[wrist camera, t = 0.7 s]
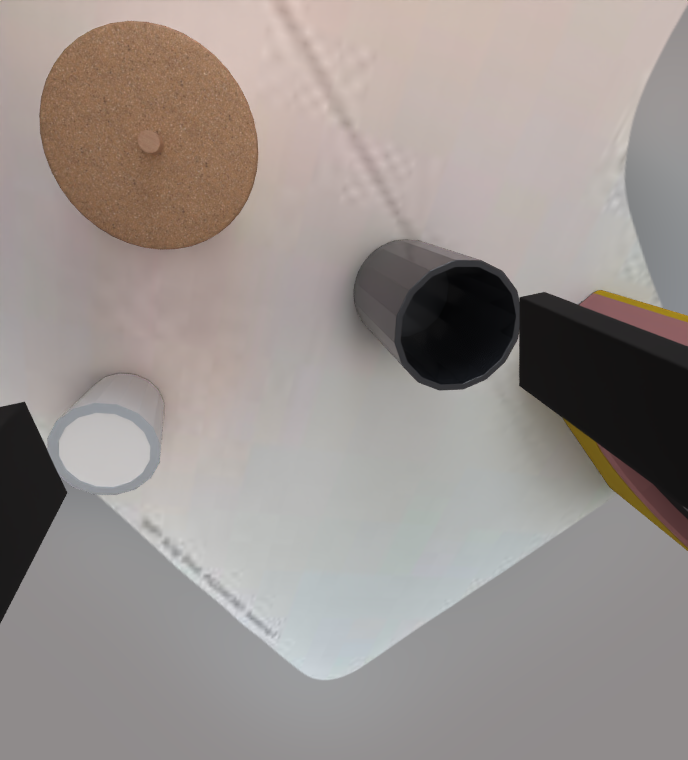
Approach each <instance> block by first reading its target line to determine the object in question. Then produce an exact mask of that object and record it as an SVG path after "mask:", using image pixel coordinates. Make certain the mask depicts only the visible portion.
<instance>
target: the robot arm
mask: <svg viewBox="0 0 688 760" xmlns="http://www.w3.org/2000/svg"><path fill="white" fill-rule="evenodd" d="M519 386H520V387H522V388H523V389H524V390H526V391H527V392H529V393H530V394H531V395H533V396H534V397H535V398H537V399H538V400H539V401H541V402H542V403H543V404H545V405H546V406H548V407H549V408H550V409H552V410H553V411H554V412H556V413H557V414H558V415H560V416H561V417H563V418H564V419H565V420H567V421H568V422H569V423H571V424H572V425H573V426H575V427H576V428H577V429H579V430H580V431H582V432H583V433H584V434H586V435H587V436H588V437H590V438H591V439H592V440H594V441H595V442H596V443H598V444H599V445H601V446H602V447H603V448H605V449H606V450H607V451H609V452H610V453H611V454H613V455H614V456H615V457H617V458H618V459H620V460H621V461H622V462H624V463H625V464H626V465H628V466H629V467H630V468H632V469H633V470H634V471H636V472H637V473H639V474H640V475H641V476H643V477H644V478H645V479H647V480H648V481H649V482H651V483H652V484H653V485H655V486H656V487H658V488H659V489H660V490H662V491H663V492H664V493H666V494H667V495H668V496H670V497H671V498H672V499H674V500H675V501H677V502H678V503H679V504H681V505H682V506H683V507H685V508H686V509H687V510H688V346H686V345H683V344H680V343H678V342H675V341H672V340H670V339H667V338H665V337H662V336H659V335H657V334H654V333H651V332H649V331H646V330H643V329H641V328H638V327H635V326H633V325H630V324H628V323H625V322H622V321H620V320H617V319H614V318H612V317H609V316H606V315H604V314H601V313H598V312H596V311H593V310H591V309H588V308H585V307H583V306H580V305H577V304H575V303H572V302H569V301H567V300H564V299H562V298H559V297H556V296H554V295H551V294H548V293H546V292H543V293H538V294H533V295H528V296H524V297H520V330H519ZM66 494H67V491H66V489H65V487H64V485H63V483H62V481H61V478H60V476H59V474H58V472H57V470H56V468H55V466H54V463H53V461H52V459H51V457H50V455H49V453H48V451H47V448H46V446H45V444H44V442H43V440H42V438H41V436H40V433H39V431H38V429H37V427H36V425H35V423H34V421H33V418H32V416H31V414H30V412H29V410H28V408H27V406H26V403H25V402H22V403H17V404H12V405H8V406H3V407H0V623H1V621H2V619H3V617H4V615H5V613H6V611H7V609H8V607H9V605H10V604H11V601H12V600H13V598H14V596H15V594H16V592H17V590H18V588H19V586H20V584H21V582H22V580H23V578H24V576H25V574H26V572H27V570H28V568H29V566H30V565H31V562H32V561H33V559H34V557H35V554H36V553H37V551H38V549H39V547H40V545H41V543H42V541H43V539H44V537H45V535H46V533H47V531H48V529H49V527H50V525H51V523H52V521H53V519H54V517H55V516H56V514H57V512H58V510H59V508H60V506H61V504H62V502H63V500H64V498H65V496H66Z"/></svg>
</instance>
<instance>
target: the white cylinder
mask: <svg viewBox="0 0 688 760" xmlns="http://www.w3.org/2000/svg"><path fill="white" fill-rule="evenodd" d="M163 416H164V401H163V399H162V397H161V394H160V392H159V390H158V389H157V388H156V387H155V386H154V385H153V384H152V383H151V382H150V381H148V380H146V379H144V378H142V377H139V376H137V375H135V374H123V373H118V374H115V375H111V376H107V377H104V378H103V379H102V380H100V381H99V382H98V383H96V384H95V385H94V386H93V387H92V388H91V389H90V390H89V391H87V392H86V393H85V394H84V395H83V396H82V397H81V398H80V399H79V400H78V401H77V402H76V403H75V404H74V405H73V406H72V407H71V408H70V409H69V410H68V411H67V412H66V413H64V414H63V415H62V416H61V417H60V418H59V419H58V420H57V421H56V423H55V425H54V427H53V429H52V431H51V433H50V435H49V437H48V453H49V455H50V457H51V459H52V461H53V463H54V466H55V468H56V470H57V472H58V474H59V476H61V478H63V479H64V480H65V481H66V482H68V483H69V484H70V485H72V486H73V487H74V488H77V489H80V490H83V491H86V492H89V493H92V494H98V495H117V494H121V493H124V492H128V491H131V490H134V489H136V488H138V487H139V486H140V485H142V484H143V483H144V482H146V481H147V480H148V479H150V478H151V477H152V475H153V473H154V471H155V470H156V468H157V466H158V464H159V463H160V453H161V440H162V428H163Z"/></svg>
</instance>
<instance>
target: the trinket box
mask: <svg viewBox="0 0 688 760" xmlns="http://www.w3.org/2000/svg"><path fill="white" fill-rule="evenodd" d="M39 117H40V134H41V139H42V144H43V148H44V153H45V156H46V158H47V161H48V164H49V166H50V169H51V171H52V173H53V175H54V177H55V179H56V181H57V183H58V184H59V186H60V188H61V189H62V191H63V192H64V193H65V195H66V196H67V198H68V199H69V200H70V202H71V203H72V204H73V205H74V206H75V207H76V208H77V209H78V210H79V211H80V212H81V213H82V214H83V216H85V217H86V218H87V219H88V220H90V221H91V222H92V223H93V224H95V225H96V226H97V227H98V228H100V229H102V230H103V231H105V232H107V233H108V234H110V235H112V236H113V237H116V238H118V239H120V240H123V241H125V242H127V243H130V244H134V245H137V246H141V247H145V248H153V249H179V248H184V247H189V246H193V245H196V244H198V243H201V242H204V241H206V240H208V239H210V238H211V237H213V236H215V235H217V234H218V233H220V232H221V231H222V230H223V229H224V228H226V227H227V226H228V225H229V224H230V223H231V222H232V221H233V220H234V219H235V217H236V216H237V215H238V214H239V213H240V211H241V210H242V208H243V206H244V205H245V203H246V201H247V200H248V197H249V195H250V192H251V190H252V187H253V184H254V180H255V176H256V172H257V163H258V142H257V133H256V129H255V124H254V119H253V116H252V113H251V111H250V108H249V105H248V102H247V100H246V98H245V96H244V94H243V92H242V90H241V89H240V87H239V85H238V83H237V82H236V81H235V79H234V78H233V76H232V75H231V73H230V72H229V71H228V69H227V68H226V67H225V66H224V65H223V64H222V63H221V62H220V61H219V60H218V59H217V57H216V56H215V55H213V54H212V53H211V52H210V51H209V50H207V49H206V48H205V47H204V46H202V45H201V44H200V43H198V42H197V41H195V40H193V39H192V38H190V37H188V36H187V35H185V34H183V33H181V32H178V31H176V30H173V29H171V28H168V27H166V26H162V25H158V24H153V23H149V22H137V21H125V22H117V23H110V24H107V25H104V26H101V27H98V28H95V29H93V30H91V31H89V32H87V33H86V34H84V35H82V36H80V37H79V38H77V39H76V40H75V41H74V42H73V43H72V44H71V45H69V46H68V47H67V48H66V49H65V50H64V51H63V53H62V54H61V55H60V57H59V58H58V59H57V61H56V62H55V63H54V65H53V67H52V69H51V71H50V73H49V75H48V77H47V79H46V82H45V86H44V89H43V93H42V96H41V105H40V115H39Z"/></svg>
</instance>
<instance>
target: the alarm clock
mask: <svg viewBox="0 0 688 760" xmlns="http://www.w3.org/2000/svg"><path fill="white" fill-rule="evenodd" d="M579 305H580V306H583V307H585V308H588V309H591V310H593V311H596V312H598V313H601V314H604V315H606V316H609V317H612V318H614V319H617V320H620V321H622V322H625V323H628V324H630V325H633V326H635V327H638V328H641V329H643V330H646V331H649V332H651V333H654V334H657V335H659V336H662V337H665V338H667V339H670V340H672V341H675V342H678V343H680V344H683V345H686V346H688V316H687V315H683V314H680V313H677V312H673V311H670V310H666V309H663V308H660V307H657V306H653V305H650V304H646V303H643V302H640V301H636V300H633V299H630V298H626V297H623V296H620V295H616V294H613V293H609V292H606V291H603V290H599V291H596V292H594V293H593V294H592V295H590V296H589V297H588V298H587V299H585V300H584V301H583V302H582V303H581V304H579ZM562 418H563V417H562ZM563 419H564V418H563ZM564 421H565V422H566V424H567V425H568V427H569V428H570V430H571V431H572V433H573V434H574V436H575V437H576V438H577V440H578V441H579V443H580V444H581V446H582V447H583V449H584V450H585V452H586V453H587V455H588V456H589V458H590V459H591V461H592V462H593V463H594V465H595V466H596V468H597V469H598V471H599V472H600V474H601V475H602V477H603V478H604V480H605V481H606V483H607V484H608V486H609V487H610V488H611V489H612V490H614V491H615V492H616V493H617V494H619V495H620V496H621V497H622V498H623V499H625V500H626V501H627V502H628V503H630V504H631V505H632V506H633V507H635V508H636V509H637V510H638V511H639V512H641V513H642V514H643V515H645V516H646V517H647V518H648V519H649V520H650V521H652V522H653V523H654V524H655V525H657V526H658V527H659V528H660V529H661V530H663V531H664V532H665V533H666V534H668V535H669V536H670V537H672V538H673V539H674V540H675V541H676V542H677V543H679V544H680V545H681V546H682V547H684V548H685V549H686V550H687V551H688V510H687V509H686V508H685V507H683V506H682V505H681V504H679V503H678V502H677V501H675V500H674V499H672V498H671V497H670V496H668V495H667V494H666V493H664V492H663V491H662V490H660V489H659V488H658V487H656V486H655V485H653V484H652V483H651V482H649V481H648V480H647V479H645V478H644V477H643V476H641V475H640V474H639V473H637V472H636V471H634V470H633V469H632V468H630V467H629V466H628V465H626V464H625V463H624V462H622V461H621V460H620V459H618V458H617V457H615V456H614V455H613V454H611V453H610V452H609V451H607V450H606V449H605V448H603V447H602V446H601V445H599V444H598V443H596V442H595V441H594V440H592V439H591V438H590V437H588V436H587V435H586V434H584V433H583V432H582V431H580V430H579V429H577V428H576V427H575V426H573V425H572V424H571V423H569V422H568V421H567V420H565V419H564Z"/></svg>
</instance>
